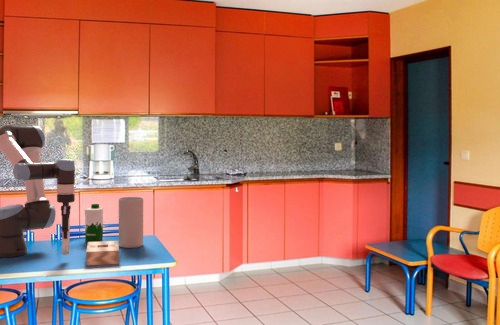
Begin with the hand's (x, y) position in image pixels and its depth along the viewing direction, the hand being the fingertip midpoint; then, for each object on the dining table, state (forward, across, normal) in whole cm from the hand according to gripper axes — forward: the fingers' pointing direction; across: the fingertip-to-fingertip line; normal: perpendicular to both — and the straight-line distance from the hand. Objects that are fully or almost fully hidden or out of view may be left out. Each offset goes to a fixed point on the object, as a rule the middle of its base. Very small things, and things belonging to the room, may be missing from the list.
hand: (65, 244), depth 228 cm
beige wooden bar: (+4, 0, 0) cm, 4 cm away
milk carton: (+9, +44, -11) cm, 46 cm away
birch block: (+8, +2, -16) cm, 18 cm away
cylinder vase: (+8, +28, -30) cm, 42 cm away
